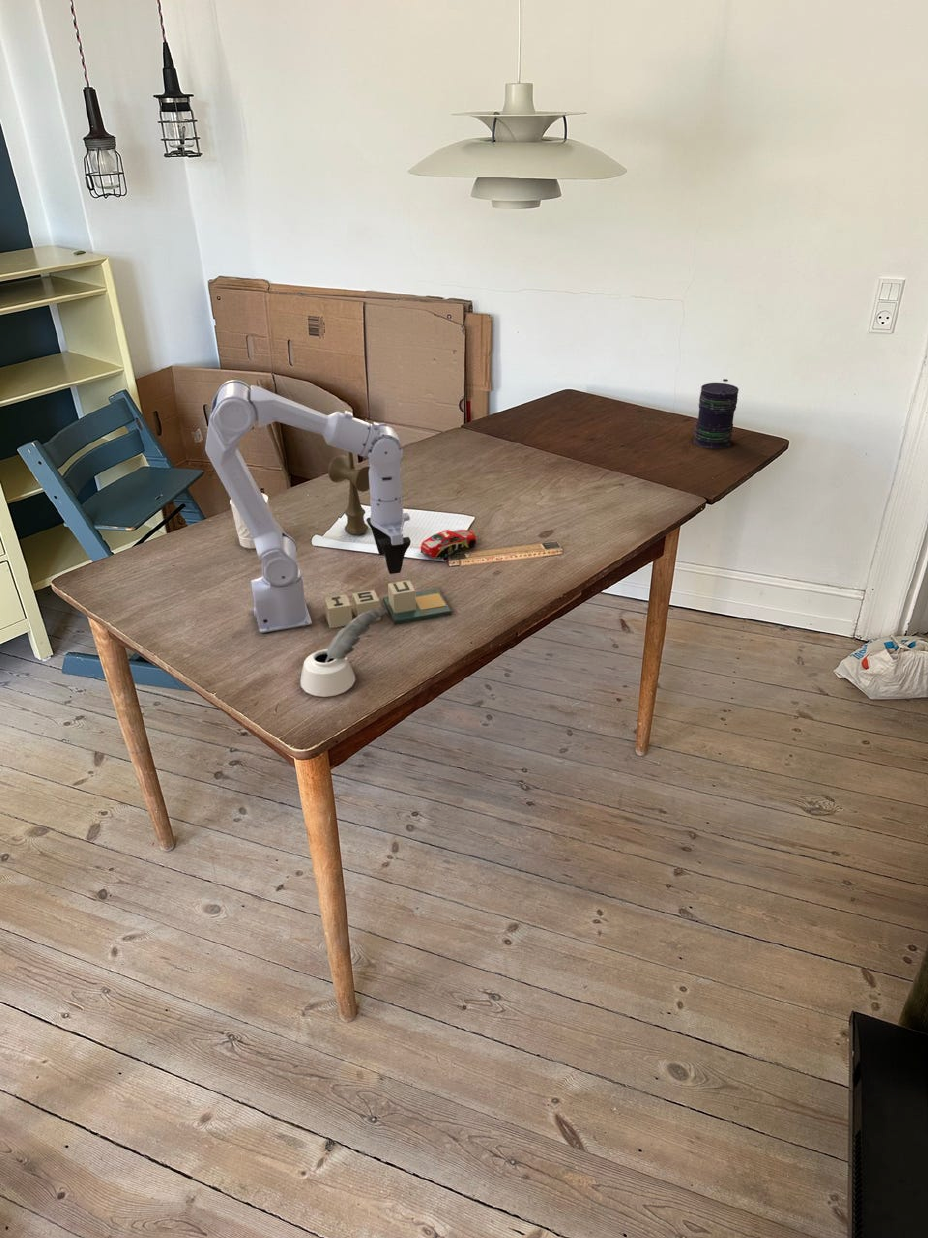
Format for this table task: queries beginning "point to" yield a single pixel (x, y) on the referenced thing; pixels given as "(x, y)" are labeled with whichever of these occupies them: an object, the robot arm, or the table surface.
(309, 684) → the inkwell
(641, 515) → the table surface
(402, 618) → the green board
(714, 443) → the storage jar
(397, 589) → the U block
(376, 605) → the block
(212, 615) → the table surface
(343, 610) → the block
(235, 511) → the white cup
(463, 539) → the race car
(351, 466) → the kendama
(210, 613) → the table surface
